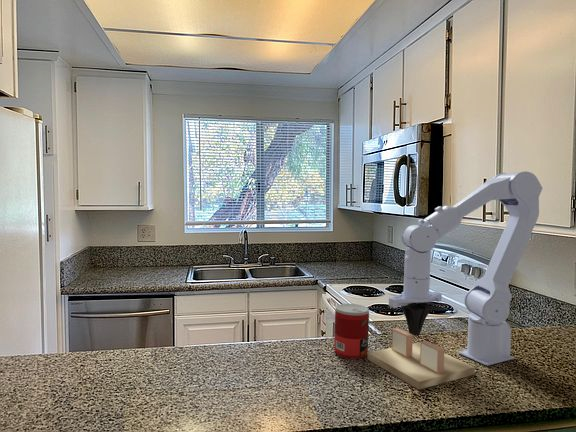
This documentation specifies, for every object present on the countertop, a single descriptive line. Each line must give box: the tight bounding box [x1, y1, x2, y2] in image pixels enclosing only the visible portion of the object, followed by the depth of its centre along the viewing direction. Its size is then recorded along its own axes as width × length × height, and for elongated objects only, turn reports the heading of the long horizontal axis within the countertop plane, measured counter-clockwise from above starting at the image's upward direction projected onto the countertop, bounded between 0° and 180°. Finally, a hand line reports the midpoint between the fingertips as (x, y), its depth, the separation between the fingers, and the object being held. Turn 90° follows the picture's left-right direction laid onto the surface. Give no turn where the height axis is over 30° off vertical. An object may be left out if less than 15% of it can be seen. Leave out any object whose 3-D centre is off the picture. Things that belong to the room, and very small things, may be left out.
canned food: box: [333, 303, 370, 360], centre depth 98 cm, size 8×8×11 cm
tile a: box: [391, 327, 414, 357], centre depth 94 cm, size 2×5×5 cm, turn 27°
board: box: [367, 341, 476, 391], centre depth 91 cm, size 16×16×2 cm
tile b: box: [420, 340, 445, 374], centre depth 86 cm, size 2×5×5 cm, turn 27°
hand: (414, 334), depth 96 cm, fingers closed
